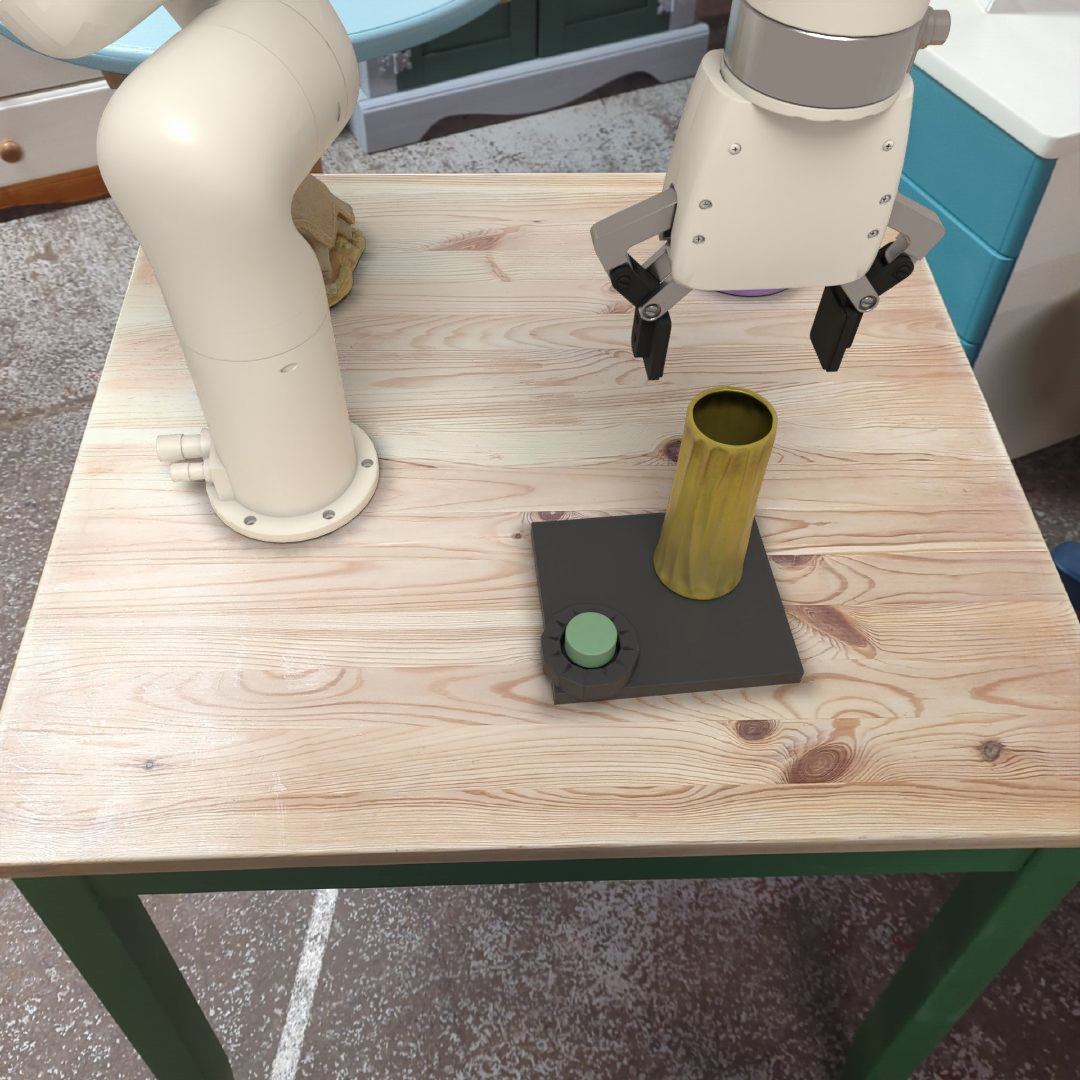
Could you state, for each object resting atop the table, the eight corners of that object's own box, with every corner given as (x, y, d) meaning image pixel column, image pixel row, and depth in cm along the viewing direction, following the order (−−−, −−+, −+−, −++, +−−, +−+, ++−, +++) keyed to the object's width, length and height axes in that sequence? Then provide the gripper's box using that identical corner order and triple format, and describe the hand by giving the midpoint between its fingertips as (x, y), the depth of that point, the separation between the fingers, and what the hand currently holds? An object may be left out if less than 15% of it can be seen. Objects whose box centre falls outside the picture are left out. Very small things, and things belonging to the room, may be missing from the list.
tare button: (568, 670, 62) (569, 657, 61) (561, 627, 64) (562, 613, 63) (619, 666, 62) (621, 652, 61) (611, 623, 64) (612, 609, 63)
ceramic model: (244, 227, 95) (219, 127, 87) (363, 218, 96) (349, 118, 88) (242, 323, 86) (214, 221, 78) (373, 311, 87) (359, 209, 79)
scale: (546, 714, 63) (547, 690, 61) (523, 534, 72) (523, 507, 70) (802, 690, 64) (812, 666, 62) (747, 518, 73) (755, 490, 71)
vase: (760, 566, 69) (807, 417, 58) (703, 617, 66) (740, 470, 55) (692, 517, 71) (725, 365, 60) (634, 564, 69) (657, 413, 57)
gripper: (983, -2, 44) (867, 308, 58) (596, 1, 42) (570, 320, 56) (1056, 84, 40) (912, 399, 53) (625, 91, 38) (589, 415, 51)
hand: (736, 358), depth 54 cm, fingers open, 9 cm apart
